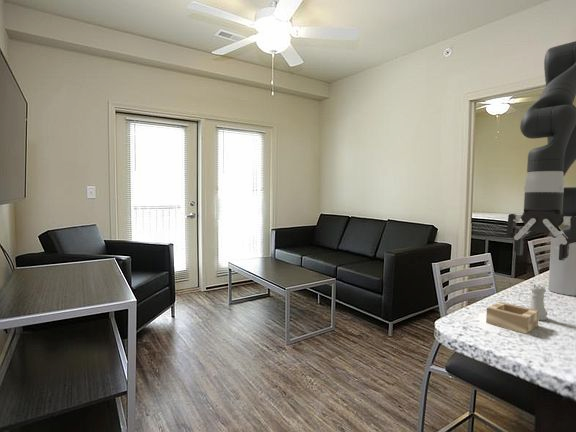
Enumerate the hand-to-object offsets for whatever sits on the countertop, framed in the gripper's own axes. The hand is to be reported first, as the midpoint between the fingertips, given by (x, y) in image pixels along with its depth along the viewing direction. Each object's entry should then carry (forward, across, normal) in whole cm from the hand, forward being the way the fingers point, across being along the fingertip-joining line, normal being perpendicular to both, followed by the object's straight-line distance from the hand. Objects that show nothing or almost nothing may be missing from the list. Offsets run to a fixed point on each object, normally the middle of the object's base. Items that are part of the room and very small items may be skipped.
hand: (539, 257), depth 82 cm
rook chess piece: (+15, 0, 0) cm, 15 cm away
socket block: (+15, +2, +10) cm, 18 cm away
